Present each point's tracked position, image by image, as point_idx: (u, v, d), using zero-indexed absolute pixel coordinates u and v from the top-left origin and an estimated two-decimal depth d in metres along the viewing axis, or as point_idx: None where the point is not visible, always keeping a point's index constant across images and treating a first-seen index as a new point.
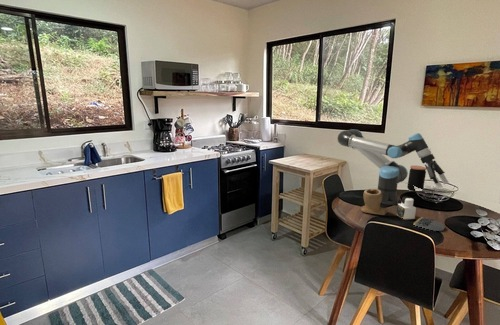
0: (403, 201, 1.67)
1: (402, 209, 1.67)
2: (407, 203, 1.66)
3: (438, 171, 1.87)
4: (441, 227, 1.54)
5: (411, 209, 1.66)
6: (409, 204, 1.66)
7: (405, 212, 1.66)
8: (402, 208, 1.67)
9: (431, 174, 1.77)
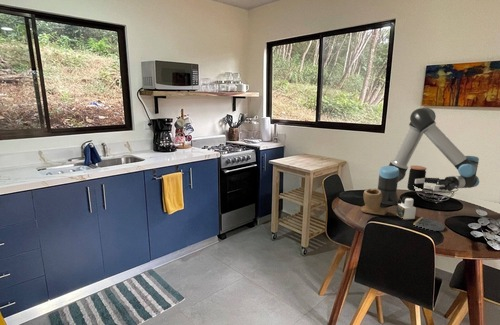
0: (403, 201, 1.67)
1: (402, 209, 1.67)
2: (407, 203, 1.66)
3: (429, 181, 1.75)
4: (441, 227, 1.54)
5: (411, 209, 1.66)
6: (409, 204, 1.66)
7: (405, 212, 1.66)
8: (402, 208, 1.67)
9: (451, 189, 1.61)
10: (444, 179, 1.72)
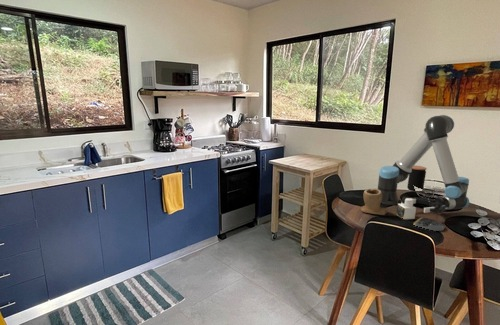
0: (403, 201, 1.67)
1: (402, 209, 1.67)
2: (407, 203, 1.66)
3: (420, 201, 1.76)
4: (441, 227, 1.54)
5: (411, 209, 1.66)
6: (409, 204, 1.66)
7: (405, 212, 1.66)
8: (402, 208, 1.67)
9: (441, 211, 1.63)
10: (435, 200, 1.73)
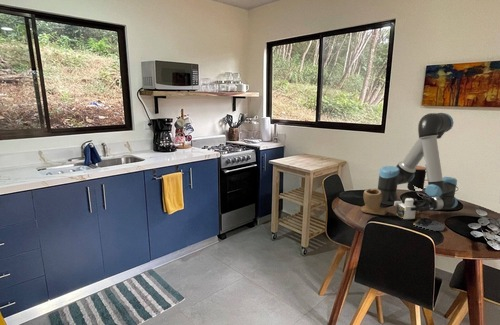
0: (403, 201, 1.67)
1: (402, 209, 1.67)
2: (407, 203, 1.66)
3: None
4: (441, 227, 1.54)
5: None
6: (409, 204, 1.66)
7: (405, 212, 1.66)
8: (402, 208, 1.67)
9: (423, 210, 1.63)
10: (422, 200, 1.72)
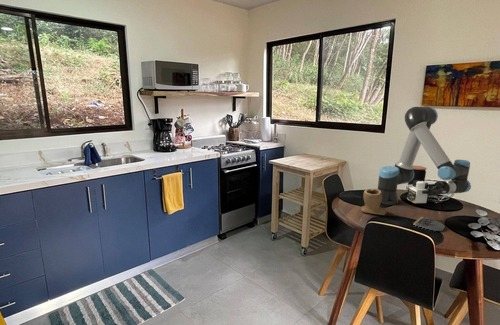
0: (414, 184, 1.61)
1: (414, 193, 1.60)
2: (418, 186, 1.59)
3: None
4: (441, 227, 1.54)
5: None
6: (421, 187, 1.59)
7: (417, 196, 1.59)
8: (413, 192, 1.61)
9: (435, 193, 1.56)
10: (434, 184, 1.65)
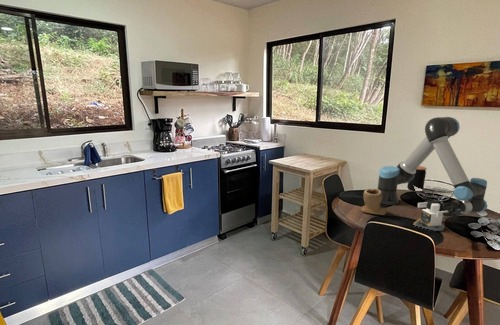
0: (429, 206, 1.55)
1: (428, 215, 1.55)
2: (433, 209, 1.54)
3: None
4: (441, 227, 1.54)
5: None
6: (436, 209, 1.53)
7: (431, 218, 1.54)
8: (428, 214, 1.55)
9: (456, 215, 1.49)
10: (449, 203, 1.59)
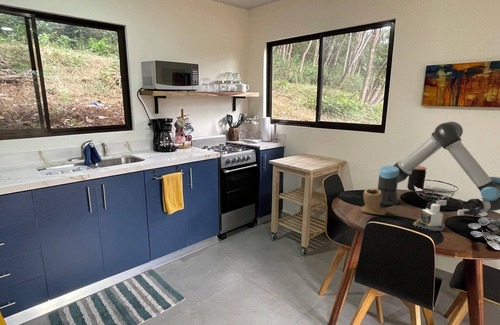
0: (429, 207, 1.55)
1: (428, 216, 1.55)
2: (433, 209, 1.54)
3: (451, 203, 1.65)
4: (441, 227, 1.54)
5: (438, 216, 1.54)
6: (436, 210, 1.53)
7: (431, 219, 1.54)
8: (428, 214, 1.55)
9: (477, 213, 1.52)
10: (468, 202, 1.62)
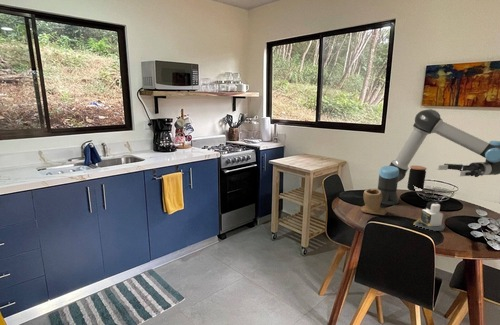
0: (429, 207, 1.55)
1: (428, 216, 1.55)
2: (433, 209, 1.54)
3: (452, 167, 1.66)
4: (441, 227, 1.54)
5: (438, 216, 1.54)
6: (436, 210, 1.53)
7: (431, 219, 1.54)
8: (428, 214, 1.55)
9: (478, 174, 1.52)
10: (469, 165, 1.63)
